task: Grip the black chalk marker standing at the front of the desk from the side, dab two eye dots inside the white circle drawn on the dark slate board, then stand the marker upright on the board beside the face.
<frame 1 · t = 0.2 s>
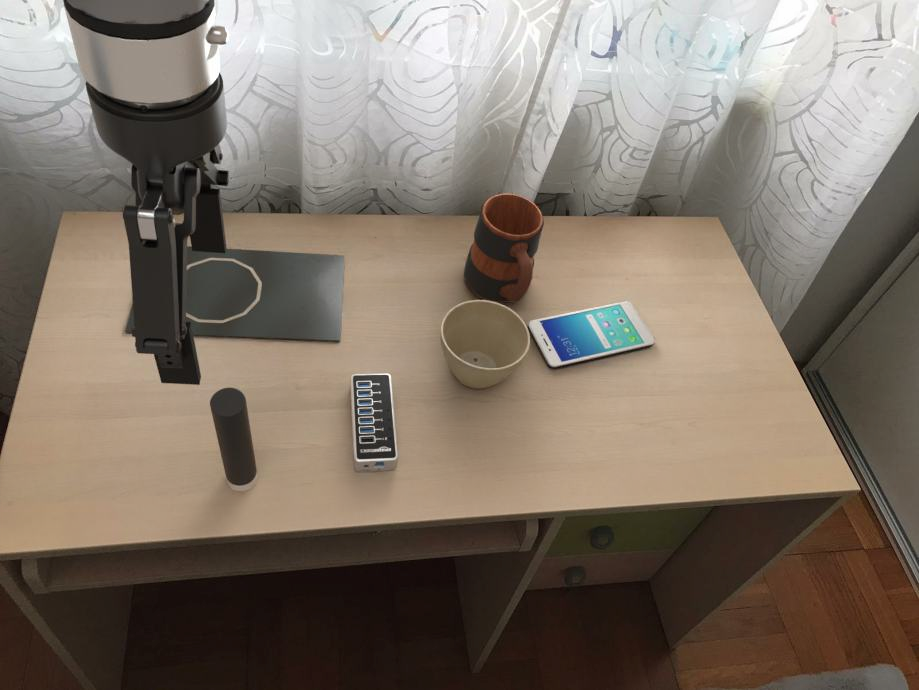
hand: (196, 310, 60), 22 cm above the table, tool pointing down, fingers open, 13 cm apart
flower pot: (475, 372, 88), on the table
mug: (499, 291, 96), on the table
smartphone: (590, 337, 94), on the table
multiport hub: (372, 427, 81), on the table
board: (242, 292, 90), on the table
marker: (242, 478, 75), on the table
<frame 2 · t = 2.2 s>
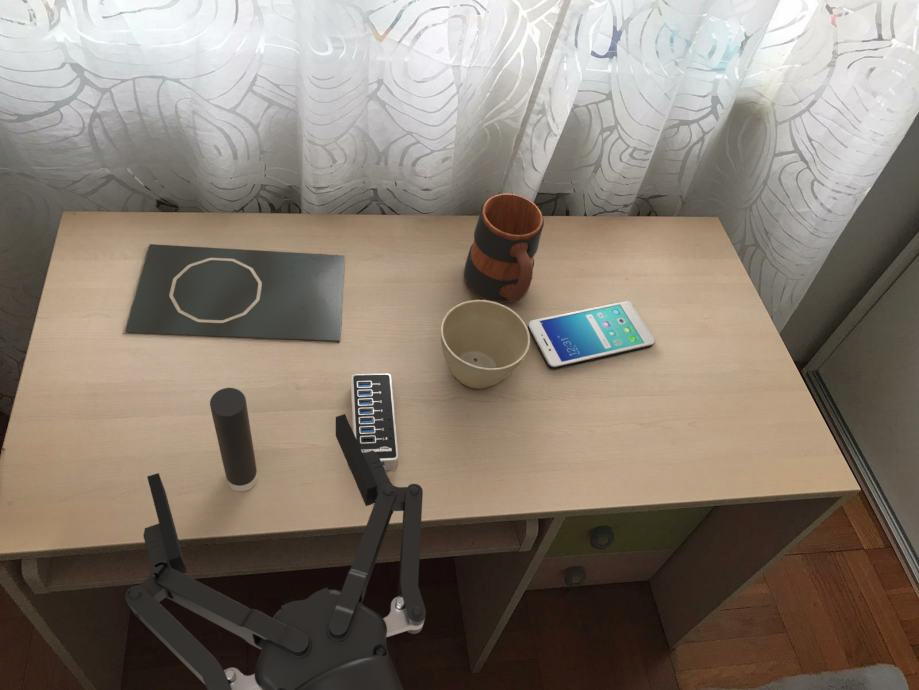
hand: (252, 452, 55), 20 cm above the table, tool horizontal, fingers open, 13 cm apart
nothing on the table moved.
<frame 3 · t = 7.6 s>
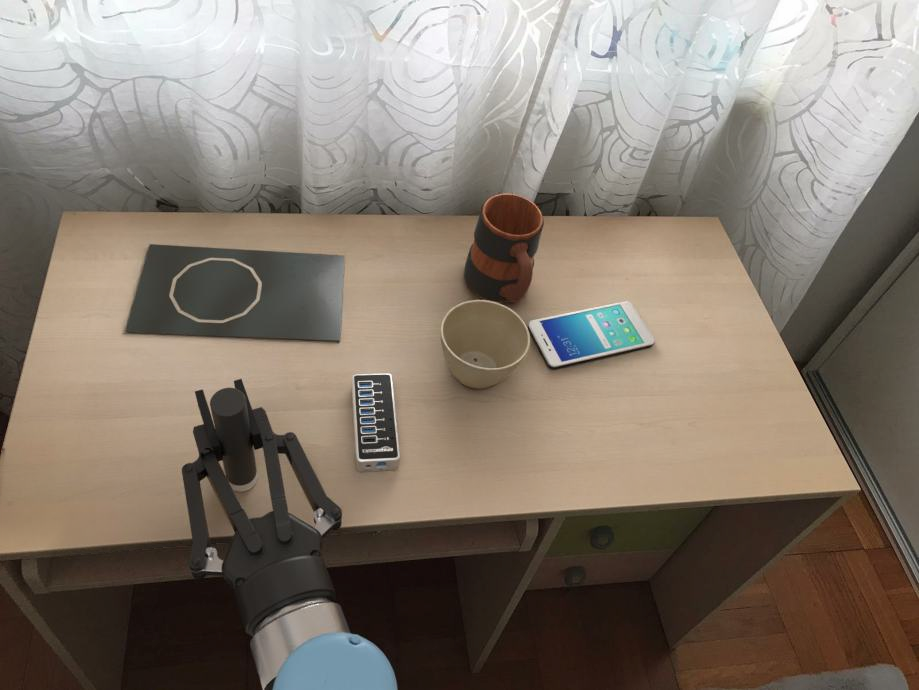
hand: (219, 393, 72), 8 cm above the table, tool horizontal, fingers closed on marker, 3 cm apart
marker: (242, 478, 75), on the table, touching gripper
everything else where it was.
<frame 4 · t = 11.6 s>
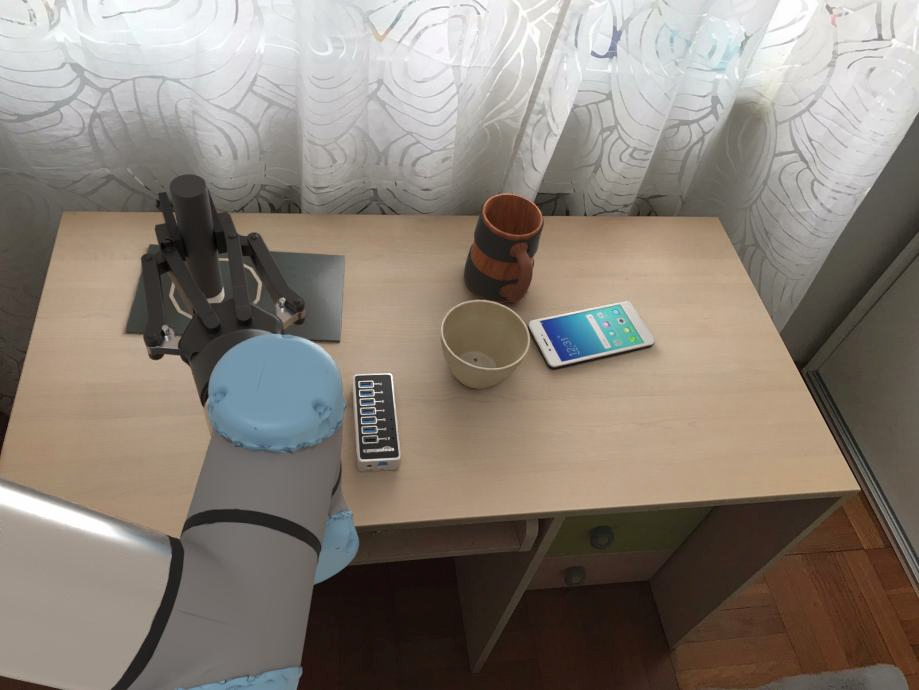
hand: (184, 200, 70), 20 cm above the table, tool horizontal, fingers closed on marker, 3 cm apart
marker: (208, 295, 74), point 12 cm above the table, touching gripper
everything else where it was.
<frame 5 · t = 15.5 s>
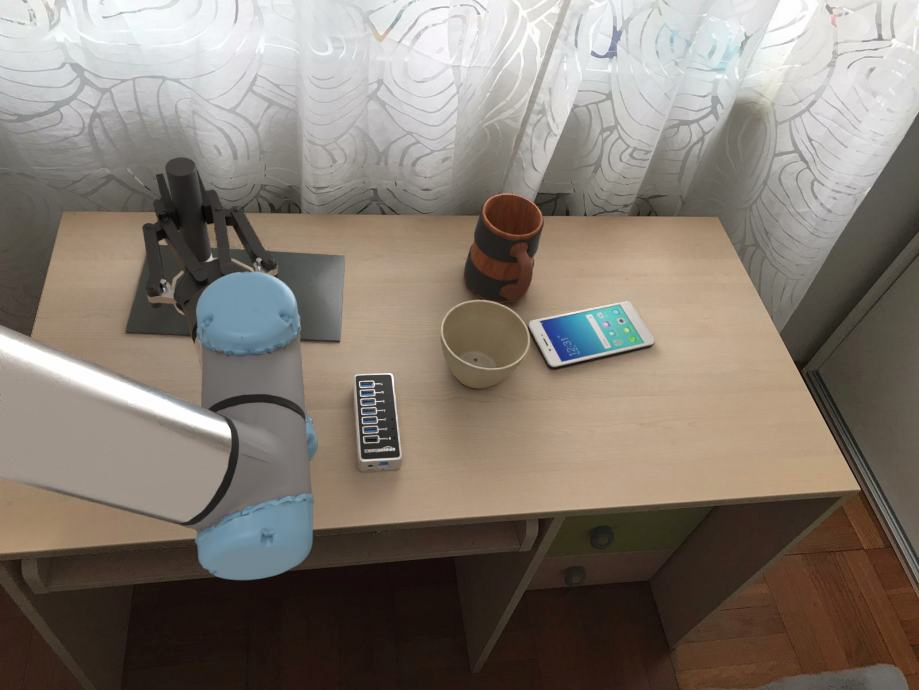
hand: (178, 180, 84), 11 cm above the table, tool horizontal, fingers closed on marker, 3 cm apart
marker: (199, 261, 88), point 4 cm above the table, touching gripper
everything else where it was.
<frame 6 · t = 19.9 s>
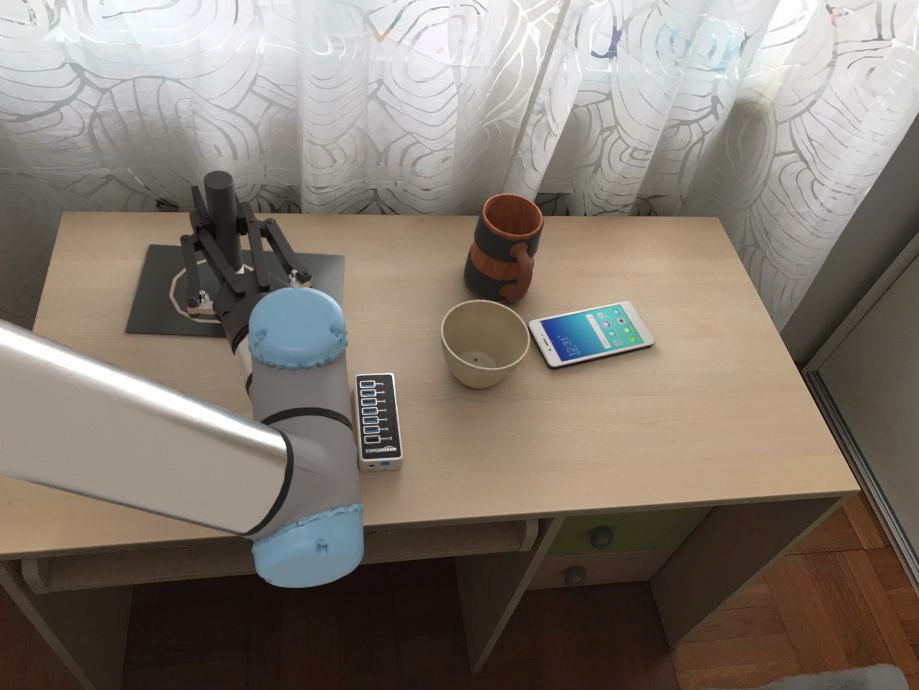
hand: (212, 192, 86), 10 cm above the table, tool horizontal, fingers closed on marker, 3 cm apart
marker: (230, 271, 89), point 2 cm above the table, touching gripper
everything else where it was.
when the fingers open (8 cm above the table, at t = 23.4 s): marker stays where it is, resting on board.
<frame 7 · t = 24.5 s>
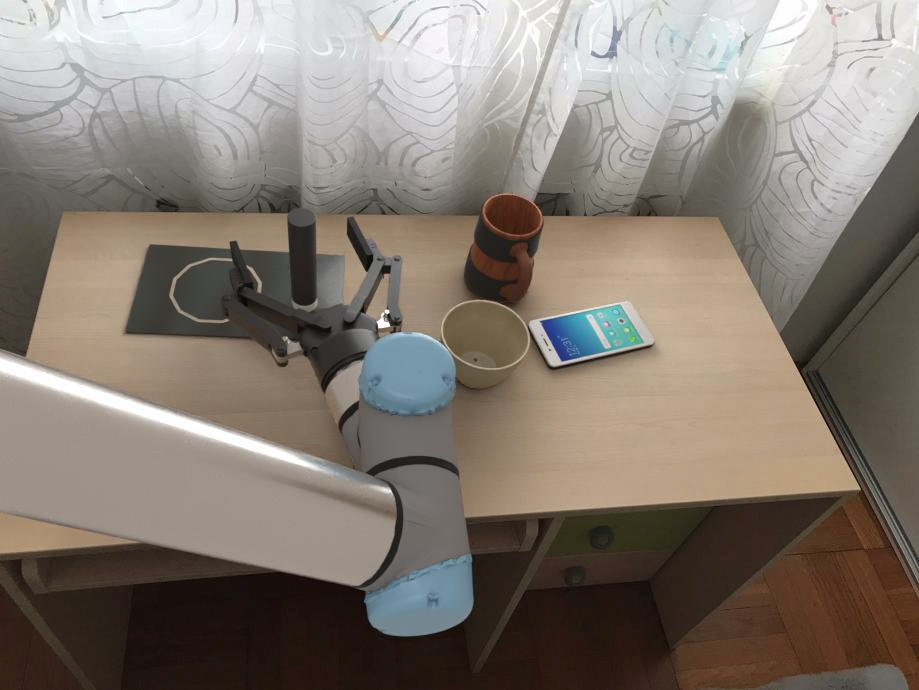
hand: (293, 236, 85), 8 cm above the table, tool horizontal, fingers open, 13 cm apart
marker: (304, 303, 90), resting on board
everything else where it was.
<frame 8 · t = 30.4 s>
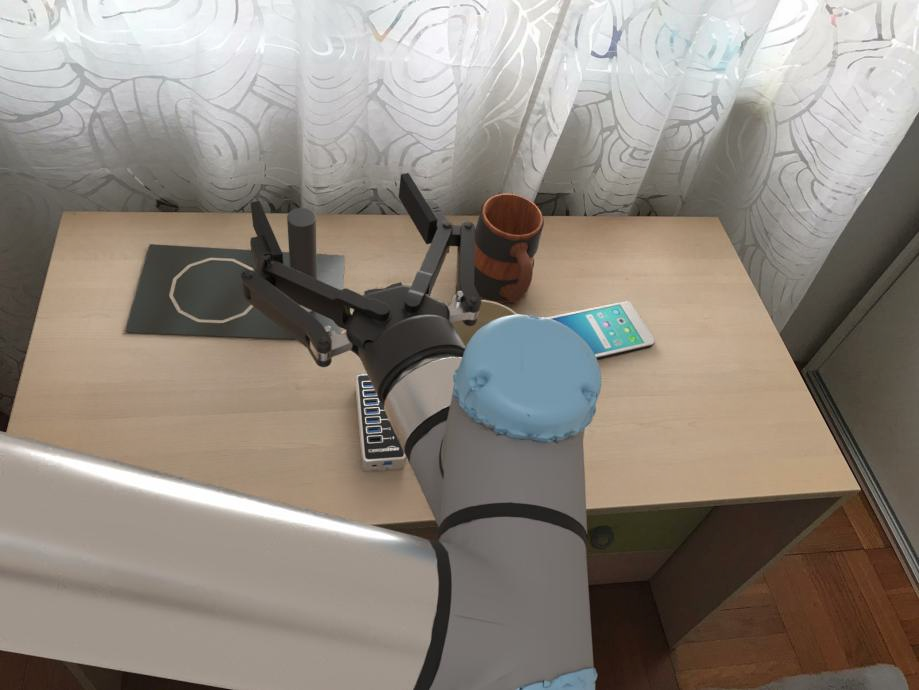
hand: (332, 198, 66), 25 cm above the table, tool horizontal, fingers open, 13 cm apart
nothing on the table moved.
at the end: marker 0.0 cm from the target spot on the board, point 0.3 cm above the board's base; marker tilted 0°; the gripper is holding nothing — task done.
